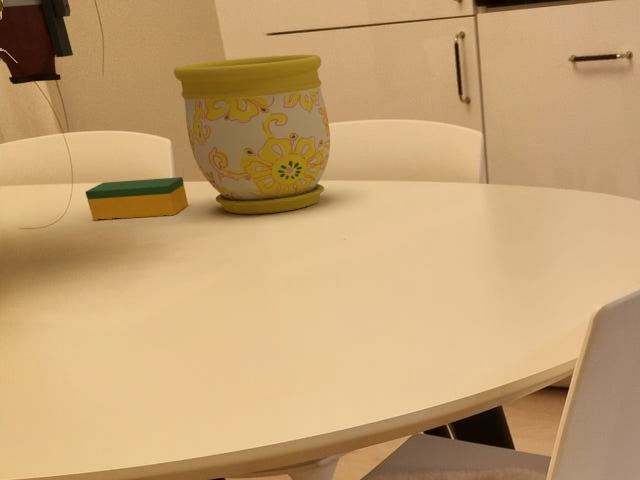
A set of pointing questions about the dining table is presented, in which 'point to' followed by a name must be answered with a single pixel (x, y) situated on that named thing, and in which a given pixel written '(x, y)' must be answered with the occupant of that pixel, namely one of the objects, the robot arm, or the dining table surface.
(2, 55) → the mate gourd
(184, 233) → the dining table surface
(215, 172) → the flowerpot
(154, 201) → the sponge
